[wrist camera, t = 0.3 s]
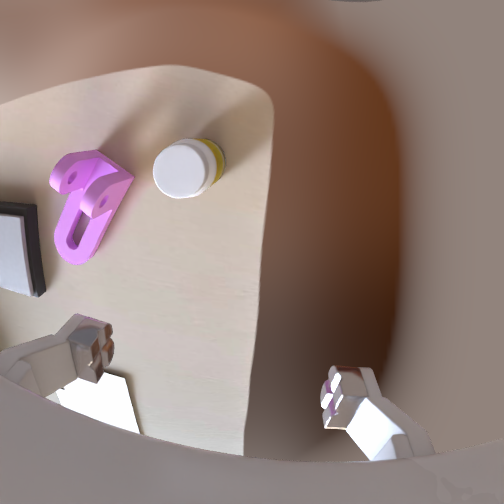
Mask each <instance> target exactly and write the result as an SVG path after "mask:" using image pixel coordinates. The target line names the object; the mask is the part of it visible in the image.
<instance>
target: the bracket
mask: <svg viewBox="0 0 504 504" xmlns="http://www.w3.org/2000/svg"><path fill="white" fill-rule="evenodd" d="M134 178H135V177H134V176H133V175H131V174H130V173H129V172H127V171H126V170H124V169H123V168H122V167H120V166H119V165H117V164H116V163H115V162H113V161H112V160H110V159H109V158H107V157H106V156H105V155H103V154H102V153H100V152H99V151H98V150H91V151H83V152H76V153H69V154H67V155H65V156H64V157H63V158H62V159H60V161H59V162H58V163H57V164H56V166H55V167H54V169H53V171H52V173H51V176H50V185H51V186H52V187H53V188H54V189H55V190H57V191H58V192H59V193H60V194H67V193H70V194H69V197H68V199H67V201H66V204H65V206H64V209H63V211H62V214H61V216H60V219H59V221H58V224H57V227H56V229H55V234H54V240H55V245H56V248H57V250H58V252H59V254H60V255H61V256H62V258H63V259H64V260H66V261H67V262H69V263H71V264H74V265H81V264H83V263H85V262H86V261H88V260H89V259H90V258H91V257H93V255H94V254H95V252H96V250H97V248H98V246H99V244H100V242H101V240H102V238H103V236H104V234H105V232H106V230H107V228H108V226H109V224H110V222H111V220H112V218H113V216H114V214H115V212H116V210H117V208H118V206H119V205H120V203H121V201H122V199H123V197H124V195H125V194H126V192H127V190H128V188H129V186H130V185H131V183H132V181H133V179H134ZM82 212H84V213H86V214H87V215H88V216H90V217H91V218H90V221H89V223H88V225H87V228H86V230H85V232H84V234H83V237H82V239H81V241H80V244H79V246H78V245H76V244H75V243H74V241H73V238H72V235H73V232H74V230H75V228H76V225H77V223H78V221H79V218H80V216H81V214H82Z"/></svg>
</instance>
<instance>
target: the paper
mask: <svg viewBox="0 0 504 504" xmlns="http://www.w3.org/2000/svg"><path fill="white" fill-rule="evenodd" d="M64 389H65V390H62V389H59V390H57V391H56V392H57V395H58V397H59V400H60V402H61V404H62V406H64V407H67V408H69V409H71V410H74V411H76V412H79V413H81V414H84V415H86V416H89V417H91V418H94V419H97V420H99V421H102V422H105V423H108V424H111V425H113V426H116V427H119V428H123V429H126V430H129V431H132V432H135V433H139V430H138V426H137V423H136V419H135V415H134V411H133V408H132V404H131V400H130V396H129V393H128V389H127V385H126V381H125V378H121V377H118V376H114V375H111V374H108V373H104V374H103V375H102V377H101V379H100V380H99V382H98V383H97V384H95V383H92V382H89V381H86V380H83V379H80V378H78V379H77V380H75V381H73V382H71V383H70V384H68V385H66V386H64ZM139 434H140V433H139Z"/></svg>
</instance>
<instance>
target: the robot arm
mask: <svg viewBox="0 0 504 504" xmlns="http://www.w3.org/2000/svg"><path fill="white" fill-rule="evenodd" d="M112 333H113V330H112V325H111V324H109V323H106V322H103V321H100V320H97V319H94V318H91V317H87V316H84V315H81V314H78V313H77V314H74V315H73V316H72V317H71V318H70V319H69V320H68V321H67V322H66V324H65V325H64V326H63V327H62V328H61V329H60V330H59V331H58V332H57V333H56V334H55V335H52V334H51V335H48V336H45V337H41V338H38V339H35V340H32V341H29V342H26V343H23V344H20V345H17V346H14V347H10V348H7V349H4V350H3V351H2V352H1V353H0V504H504V439H498V440H494V441H490V442H487V443H483V444H479V445H476V446H471V447H467V448H463V449H457V450H453V451H447V452H442V453H437V454H436V453H435V451H434V448H433V445H432V443H431V441H430V438H429V435H428V433H427V431H426V430H425V429H424V428H422V427H421V426H420V425H419V424H417V423H416V422H415V421H414V420H412V419H411V418H410V417H409V416H407V415H406V414H405V413H404V412H403V411H401V410H400V409H399V408H398V407H397V406H395V405H394V404H393V403H392V402H391V401H389V400H388V399H387V398H383V397H382V395H381V392H380V390H379V387H378V384H377V381H376V379H375V376H374V373H373V371H372V369H371V368H362V367H358V368H356V367H342V366H332V367H331V369H330V371H329V373H328V375H329V379H328V380H327V381H325V382H324V384H323V387H322V390H321V399H320V401H321V406H322V407H323V408H324V409H325V411H324V412H323V414H322V415H323V421H324V428H332V429H333V428H334V429H346V431H347V432H348V433H349V435H350V436H351V437H352V439H353V440H354V441H355V442H356V444H357V445H358V446H359V447H360V448H361V450H362V451H363V452H364V453H365V454H366V455H367V457H368V458H369V459H370V461H356V462H309V461H290V460H277V459H266V458H256V457H248V456H241V455H234V454H227V453H221V452H215V451H210V450H204V449H199V448H194V447H190V446H185V445H181V444H176V443H172V442H168V441H164V440H160V439H156V438H153V437H149V436H145V435H142V434H139V433H135V432H132V431H129V430H126V429H123V428H119V427H116V426H113V425H111V424H108V423H105V422H102V421H99V420H97V419H94V418H91V417H89V416H86V415H84V414H81V413H79V412H76V411H74V410H71V409H69V408H67V407H64V406H62V405H60V404H57V403H55V402H53V401H51V400H49V399H47V398H45V397H46V396H48V395H50V394H52V393H54V392H55V391H57V390H59V389H61V388H62V387H64V386H66V385H68V384H70V383H71V382H73V381H75V380H77V379H78V378H80V379H83V380H86V381H89V382H92V383H95V384H97V383H98V382H99V380H100V379H101V377H102V375H103V374H104V369H103V368H104V367H106V366H108V365H109V364H110V362H111V361H112V358H113V354H114V342H113V341H112V339H111V338H110V336H111V335H112Z"/></svg>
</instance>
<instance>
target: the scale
mask: <svg viewBox="0 0 504 504" xmlns="http://www.w3.org/2000/svg"><path fill="white" fill-rule="evenodd" d="M0 287H2V288H5V289H8V290H11V291H14V292H18V293H21V294H24V295H27V296H35V297H40V296H41V295H42V294H43V293H44V292H46V287H45V281H44V275H43V268H42V261H41V253H40V244H39V233H38V221H37V205H35V204H24V203H13V202H1V201H0Z"/></svg>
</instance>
